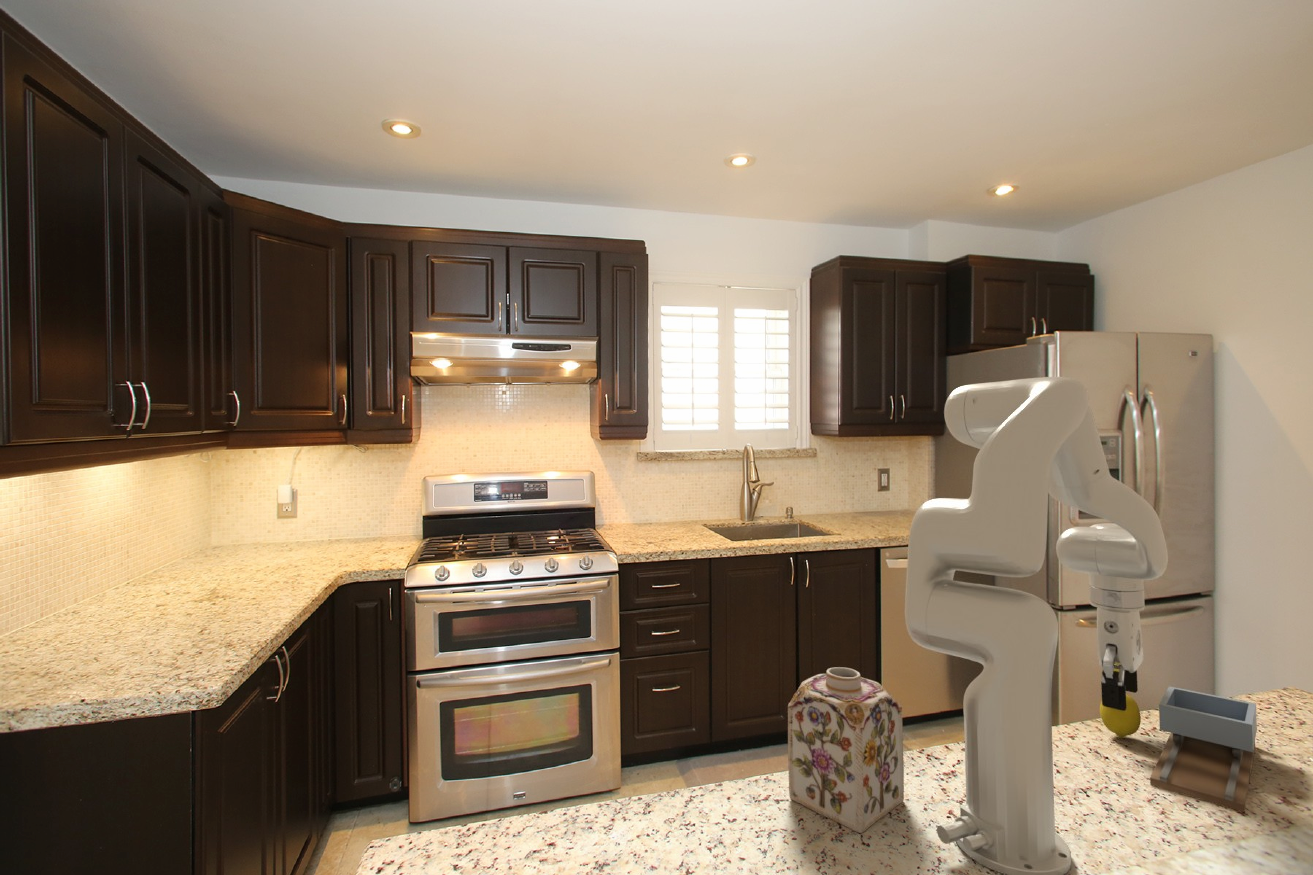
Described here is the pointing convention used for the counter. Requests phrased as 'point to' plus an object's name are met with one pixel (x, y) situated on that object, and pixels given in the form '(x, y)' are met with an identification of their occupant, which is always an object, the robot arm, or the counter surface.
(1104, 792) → the counter surface
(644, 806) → the counter surface
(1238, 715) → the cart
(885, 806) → the decorative jar
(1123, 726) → the lemon
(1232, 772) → the track
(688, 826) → the counter surface
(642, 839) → the counter surface
